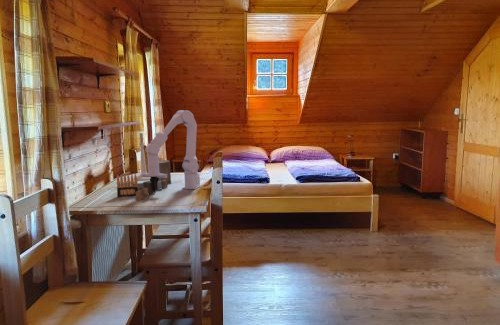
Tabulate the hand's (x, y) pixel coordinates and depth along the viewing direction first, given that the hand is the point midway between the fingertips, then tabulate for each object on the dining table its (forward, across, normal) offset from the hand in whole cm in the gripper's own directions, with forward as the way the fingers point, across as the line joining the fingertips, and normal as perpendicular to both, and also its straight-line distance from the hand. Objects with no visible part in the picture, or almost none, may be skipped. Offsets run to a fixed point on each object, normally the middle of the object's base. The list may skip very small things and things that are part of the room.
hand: (155, 190), depth 206 cm
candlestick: (+2, -28, +35) cm, 45 cm away
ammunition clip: (+2, -11, -9) cm, 14 cm away
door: (+1, -8, +5) cm, 10 cm away
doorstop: (+2, -5, +1) cm, 6 cm away
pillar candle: (+2, -8, +23) cm, 24 cm away
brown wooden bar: (+2, -1, 0) cm, 2 cm away
